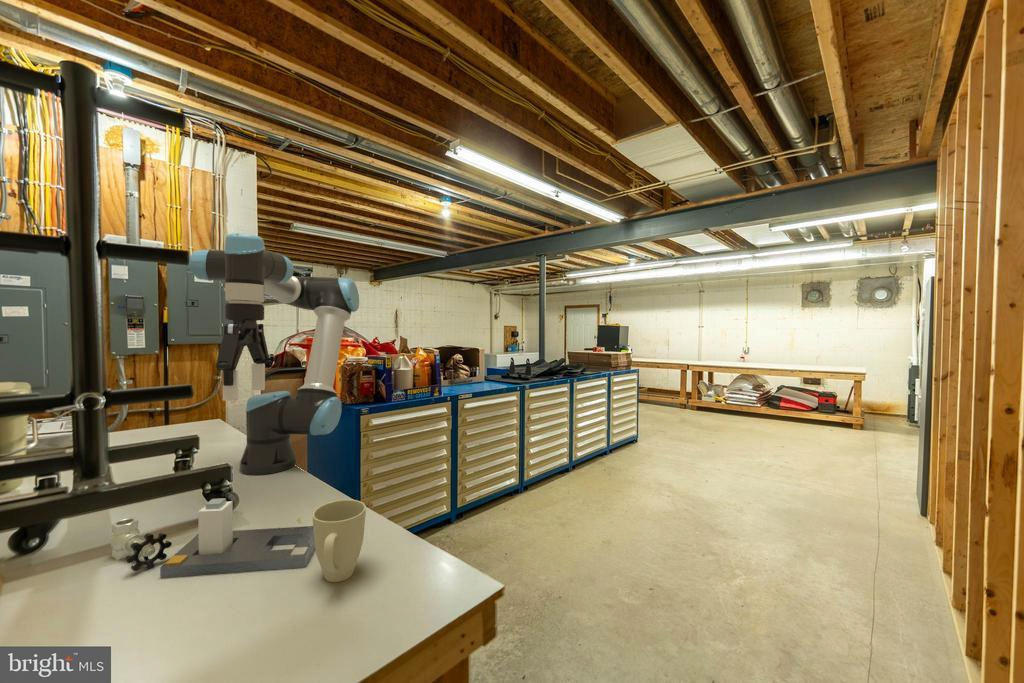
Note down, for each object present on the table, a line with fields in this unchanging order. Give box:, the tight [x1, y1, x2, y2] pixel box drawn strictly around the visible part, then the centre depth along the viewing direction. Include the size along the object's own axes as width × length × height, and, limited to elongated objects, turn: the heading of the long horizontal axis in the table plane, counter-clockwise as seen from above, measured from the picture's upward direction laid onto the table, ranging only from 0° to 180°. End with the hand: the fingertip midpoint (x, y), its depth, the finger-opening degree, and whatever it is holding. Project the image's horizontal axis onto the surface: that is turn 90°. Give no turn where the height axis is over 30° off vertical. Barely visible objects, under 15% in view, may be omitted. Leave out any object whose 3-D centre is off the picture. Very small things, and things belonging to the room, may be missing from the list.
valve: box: [110, 517, 173, 572], centre depth 77 cm, size 7×7×12 cm
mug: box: [312, 499, 367, 583], centre depth 73 cm, size 11×10×12 cm
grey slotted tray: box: [159, 525, 316, 579], centre depth 80 cm, size 12×24×2 cm, turn 100°
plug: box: [197, 497, 234, 555], centre depth 79 cm, size 4×4×11 cm
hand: (245, 394), depth 94 cm, fingers open, 13 cm apart
